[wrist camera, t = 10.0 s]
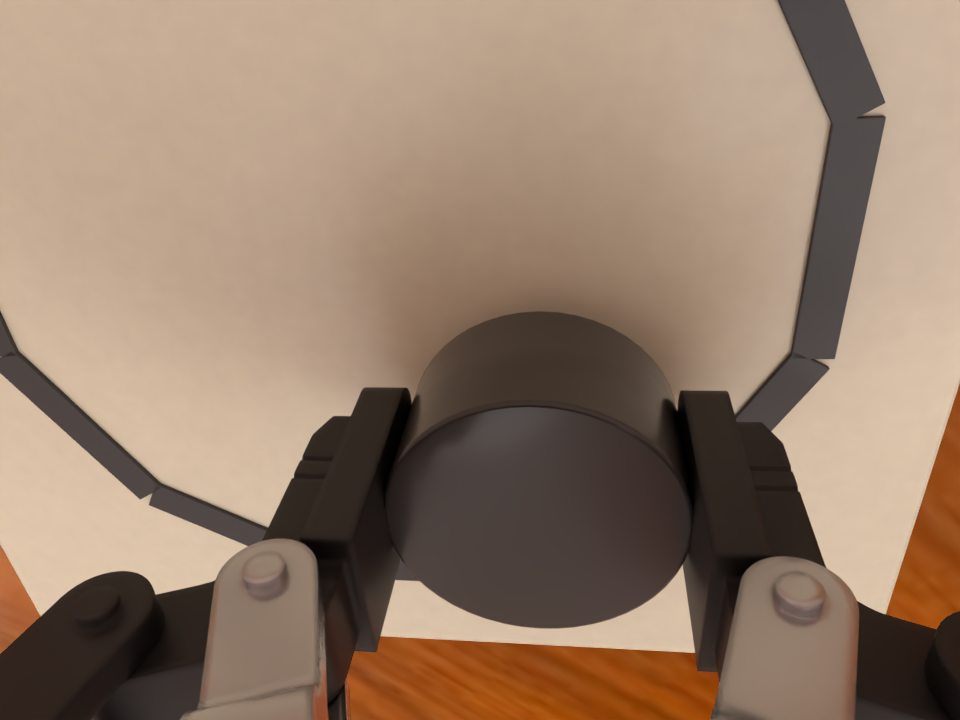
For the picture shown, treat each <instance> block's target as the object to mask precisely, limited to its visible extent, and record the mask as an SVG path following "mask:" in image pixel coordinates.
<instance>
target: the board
mask: <svg viewBox="0 0 960 720" xmlns="http://www.w3.org/2000/svg"><path fill="white" fill-rule="evenodd" d="M534 311H546V312H560V313H566V314H572V315H577V316H581V317H584V318H588V319H591V320H595V321H597V322H599V323H602V324H604V325H606V326H609V327H611V328H613V329H615V330H616V331H618V332H620V333H621V334H623V335H625V336H627V337H628V338H629V339H631V340H632V341H633V342H635V343H636V344H637V345H638V346H640V347H641V348H642V349H643V350H644V351H645V352H646V353H647V354H648V355H649V356H650V357H651V358H652V359H653V360H654V361H655V363H656V364H657V365H658V367H659V368H660V369H661V371H662V372H663V374H664V375H665V377H666V379H667V381H668V383H669V385H670V387H671V390H672V393H673V396H674V399H675V403H676V409H678V399H679V393H680V391H681V390H689V391H727V392H728V393H729V396H730V399H731V403H732V406H733V410H734V414H735V417H736V421H737V422H762V423H763V424H764V425H765V426H766V427H767V428H768V429H769V430H770V431H771V432H772V433H773V434H774V435H775V436H776V437H777V438H778V439H779V440H780V441H781V442H782V443H783V445H784V448H785V451H786V453H787V456H788V459H789V462H790V465H791V472H793V474H794V477H795V479H796V482H797V485H798V492H800V494H801V497H802V500H803V502H804V505H805V508H806V511H807V514H808V517H809V520H810V523H811V526H812V528H813V531H814V534H815V537H816V540H817V543H818V546H819V549H820V552H821V554H822V557H823V560H824V563H825V565H826V568H827V569H829V570H830V571H832V572H833V573H835V574H836V575H837V576H839V577H840V578H841V579H842V580H843V581H844V582H845V583H846V584H847V585H848V587H849V588H850V589H851V590H852V592H853V594H854V596H855V597H856V600H857V601H858V602H860V603H862V604H864V605H865V606H867V607H869V608H871V609H873V610H875V611H878V612H880V613H883V614H886V611H887V608H888V605H889V602H890V599H891V596H892V592H893V589H894V586H895V583H896V580H897V577H898V574H899V571H900V567H901V564H902V561H903V558H904V555H905V552H906V549H907V546H908V543H909V539H910V536H911V533H912V530H913V527H914V524H915V521H916V518H917V515H918V511H919V508H920V505H921V502H922V499H923V496H924V493H925V490H926V487H927V483H928V480H929V477H930V474H931V471H932V468H933V465H934V462H935V459H936V455H937V452H938V449H939V446H940V443H941V440H942V437H943V434H944V430H945V427H946V424H947V421H948V418H949V415H950V412H951V409H952V406H953V402H954V399H955V396H956V393H957V390H958V387H959V384H960V0H0V545H1V547H2V549H3V550H4V552H5V554H6V556H7V558H8V559H9V561H10V563H11V565H12V566H13V568H14V570H15V572H16V574H17V575H18V577H19V579H20V581H21V582H22V584H23V586H24V588H25V589H26V591H27V593H28V595H29V597H30V598H31V600H32V602H33V604H34V605H35V607H36V609H37V611H38V613H39V614H40V616H42V615H43V614H44V613H45V612H46V611H47V610H48V609H49V608H50V607H51V606H52V605H53V604H55V603H56V602H57V601H58V600H59V599H60V598H61V597H62V596H63V595H64V594H66V593H67V592H68V591H69V590H71V589H72V588H74V587H75V586H77V585H78V584H80V583H82V582H84V581H86V580H88V579H90V578H93V577H95V576H98V575H101V574H104V573H109V572H115V571H130V572H135V573H138V574H140V575H142V576H144V577H145V578H147V579H148V580H149V582H150V583H151V585H152V587H153V589H154V591H155V594H156V595H157V594H161V593H166V592H170V591H175V590H179V589H184V588H188V587H193V586H197V585H201V584H205V583H209V582H212V581H214V580H216V577H217V575H218V573H219V571H220V570H221V568H222V567H223V565H224V564H225V563H226V562H227V561H228V560H229V559H230V558H231V557H232V556H234V555H235V554H236V553H238V552H239V551H241V550H242V549H244V548H246V547H248V546H250V545H252V544H255V543H258V542H261V541H262V540H263V538H264V535H265V533H266V531H267V529H268V527H269V525H270V523H271V521H272V519H273V517H274V514H275V512H276V510H277V508H278V506H279V504H280V502H281V500H282V498H283V496H284V493H285V491H286V489H287V487H288V485H289V483H290V481H291V479H292V478H294V472H295V470H296V468H297V466H298V464H299V462H300V460H302V456H303V454H304V451H305V449H306V447H307V445H308V443H309V441H310V439H311V437H312V435H313V434H314V433H315V432H316V431H317V430H318V429H319V428H320V427H322V426H323V425H324V424H325V423H326V422H327V421H328V420H329V419H330V418H332V417H333V416H351V414H352V412H353V410H354V407H355V405H356V403H357V400H358V398H359V395H360V393H361V391H362V389H363V388H365V387H396V388H408V390H409V392H410V395H411V401H412V402H413V399H414V396H415V393H416V390H417V387H418V384H419V382H420V379H421V377H422V375H423V373H424V371H425V369H426V368H427V366H428V365H429V363H430V362H431V360H432V359H433V358H434V356H435V355H436V354H437V353H438V352H439V351H440V350H441V349H442V348H443V347H444V346H445V345H446V344H447V343H449V342H450V341H451V340H452V339H453V338H455V337H456V336H458V335H459V334H461V333H463V332H464V331H466V330H467V329H469V328H471V327H473V326H476V325H478V324H480V323H482V322H484V321H487V320H490V319H493V318H497V317H500V316H503V315H509V314H514V313H520V312H534ZM381 636H387V637H406V638H425V639H444V640H462V641H481V642H500V643H519V644H538V645H557V646H576V647H595V648H614V649H632V650H651V651H670V652H689V653H695V648H694V641H693V634H692V627H691V620H690V613H689V606H688V599H687V592H686V585H685V578H684V571H683V565H682V566H681V568H680V570H679V571H678V573H677V574H676V576H675V577H674V578H673V579H672V580H671V581H670V583H669V584H668V585H667V586H666V587H665V588H664V589H663V590H662V591H660V592H659V593H658V594H657V595H656V596H655V597H653V598H652V599H650V600H649V601H647V602H646V603H644V604H643V605H641V606H640V607H638V608H636V609H634V610H632V611H630V612H628V613H626V614H623V615H621V616H618V617H616V618H613V619H610V620H607V621H603V622H599V623H596V624H591V625H586V626H580V627H572V628H559V629H539V628H529V627H519V626H514V625H508V624H503V623H499V622H496V621H492V620H488V619H485V618H482V617H479V616H477V615H474V614H471V613H469V612H467V611H465V610H462V609H460V608H458V607H456V606H454V605H452V604H451V603H449V602H447V601H446V600H444V599H442V598H441V597H439V596H438V595H436V594H435V593H434V592H432V591H431V590H430V589H428V588H427V587H426V586H424V585H423V584H422V583H421V582H420V581H419V580H418V579H417V578H416V577H415V576H414V575H413V574H412V573H411V572H410V570H409V569H408V568H407V567H406V566H405V564H404V563H403V562H402V560H400V564H399V567H398V571H397V575H396V579H395V583H394V586H393V590H392V594H391V598H390V602H389V605H388V609H387V613H386V617H385V621H384V624H383V628H382V632H381Z"/></svg>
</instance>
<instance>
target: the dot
mask: <svg viewBox="0 0 960 720" xmlns="http://www.w3.org/2000/svg"><path fill="white" fill-rule="evenodd" d="M384 501H385V509H386V515H387V521H388V527H389V532H390V537H391V541H392V544H393V546H394V548H395V551H396V552H397V554H398V555H399V557H400V558H401V560H402V562H403V563H404V564H405V566H406V567H407V568H408V569H409V570H410V572H411V573H412V574H413V575H414V576H415V577H416V578H417V579H418V580H419V581H420V582H421V583H422V584H423V585H424V586H426V587H427V588H428V589H430V590H431V591H432V592H434V593H435V594H436V595H438V596H439V597H441V598H442V599H444V600H446V601H447V602H449V603H451V604H452V605H454V606H456V607H458V608H460V609H462V610H465V611H467V612H469V613H471V614H474V615H477V616H479V617H482V618H485V619H488V620H492V621H496V622H499V623H503V624H508V625H514V626H519V627H529V628H539V629H559V628H572V627H580V626H586V625H591V624H596V623H599V622H603V621H607V620H610V619H613V618H616V617H618V616H621V615H623V614H626V613H628V612H630V611H632V610H634V609H636V608H638V607H640V606H641V605H643V604H644V603H646V602H647V601H649V600H650V599H652V598H653V597H655V596H656V595H657V594H658V593H659V592H660V591H662V590H663V589H664V588H665V587H666V586H667V585H668V584H669V583H670V581H671V580H672V579H673V578H674V577H675V576H676V574H677V573H678V571H679V570H680V568H681V566H682V565H683V563H684V561H685V559H686V557H687V554H688V552H689V548H690V540H691V531H692V521H693V504H692V498H691V492H690V486H689V480H688V474H687V468H686V462H685V456H684V450H683V444H682V438H681V432H680V426H679V420H678V415H677V409H676V403H675V399H674V396H673V393H672V390H671V387H670V385H669V383H668V381H667V379H666V377H665V375H664V374H663V372H662V371H661V369H660V368H659V367H658V365H657V364H656V363H655V361H654V360H653V359H652V358H651V357H650V356H649V355H648V354H647V353H646V352H645V351H644V350H643V349H642V348H641V347H640V346H638V345H637V344H636V343H635V342H633V341H632V340H631V339H629V338H628V337H627V336H625V335H623V334H621V333H620V332H618V331H616V330H615V329H613V328H611V327H609V326H606V325H604V324H602V323H599V322H597V321H595V320H591V319H588V318H584V317H581V316H577V315H572V314H566V313H560V312H546V311H534V312H520V313H514V314H509V315H503V316H500V317H497V318H493V319H490V320H487V321H484V322H482V323H480V324H478V325H476V326H473V327H471V328H469V329H467V330H466V331H464V332H463V333H461V334H459V335H458V336H456V337H455V338H453V339H452V340H451V341H450V342H449V343H447V344H446V345H445V346H444V347H443V348H442V349H441V350H440V351H439V352H438V353H437V354H436V355H435V356H434V358H433V359H432V360H431V362H430V363H429V365H428V366H427V368H426V369H425V371H424V373H423V375H422V377H421V379H420V382H419V384H418V387H417V390H416V393H415V396H414V399H413V402H412V405H411V408H410V411H409V414H408V418H407V421H406V424H405V427H404V430H403V433H402V436H401V439H400V442H399V445H398V448H397V452H396V455H395V458H394V461H393V464H392V467H391V470H390V473H389V476H388V480H387V484H386V488H385V492H384Z"/></svg>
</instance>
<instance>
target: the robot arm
mask: <svg viewBox="0 0 960 720" xmlns="http://www.w3.org/2000/svg"><path fill="white" fill-rule="evenodd" d="M411 405H412V401H411V395H410V392H409V390H408V388H396V387H365V388H363V389H362V391H361V393H360V395H359V398H358V400H357V403H356V405H355V407H354V410H353V412H352V414H351V416H333V417H332V418H330V419H329V420H328V421H327V422H326V423H325V424H324V425H323V426H322V427H320V428H319V429H318V430H317V431H316V432H315V433H314V434H313V435H312V437H311V439H310V441H309V443H308V445H307V447H306V449H305V451H304V454H303V456H302V460H300V462H299V464H298V466H297V468H296V470H295V472H294V478H292V479H291V481H290V483H289V485H288V487H287V489H286V491H285V493H284V496H283V498H282V500H281V502H280V504H279V506H278V508H277V510H276V512H275V514H274V517H273V519H272V521H271V523H270V525H269V527H268V529H267V531H266V533H265V535H264V538H263V540H262V541H261V542H258V543H255V544H252V545H250V546H248V547H246V548H244V549H242V550H241V551H239V552H238V553H236V554H235V555H234V556H232V557H231V558H230V559H229V560H228V561H227V562H226V563H225V564H224V565H223V567H222V568H221V570H220V571H219V573H218V575H217V577H216V580H214V581H212V582H209V583H205V584H201V585H197V586H193V587H188V588H184V589H179V590H175V591H170V592H166V593H161V594H157V595H156V594H155V591H154V589H153V587H152V585H151V583H150V582H149V580H148V579H147V578H145V577H144V576H142V575H140V574H138V573H135V572H130V571H115V572H109V573H104V574H101V575H98V576H95V577H93V578H90V579H88V580H86V581H84V582H82V583H80V584H78V585H77V586H75V587H74V588H72V589H71V590H69V591H68V592H67V593H66V594H64V595H63V596H62V597H61V598H60V599H59V600H58V601H57V602H56V603H55V604H53V605H52V606H51V607H50V608H49V609H48V610H47V611H46V612H45V613H44V614H43V615H42V616H41V617H40V618H39V619H37V620H36V621H35V622H34V623H33V624H32V625H31V626H30V627H29V628H28V629H27V630H26V631H25V632H24V633H23V634H21V635H20V636H19V637H18V638H17V639H16V640H15V641H14V642H13V643H12V644H11V645H10V646H9V647H8V648H7V649H5V650H4V651H3V652H2V653H1V654H0V720H351V710H350V693H349V685H348V680H347V674H348V670H349V667H350V664H351V660H352V657H353V653H354V651H365V652H376V651H377V647H378V643H379V640H380V636H381V632H382V628H383V624H384V621H385V617H386V613H387V609H388V605H389V602H390V598H391V594H392V590H393V586H394V583H395V579H396V575H397V571H398V567H399V564H400V560H401V558H400V557H399V555H398V554H397V552H396V551H395V548H394V546H393V544H392V541H391V537H390V532H389V527H388V521H387V515H386V509H385V501H384V492H385V488H386V484H387V480H388V476H389V473H390V470H391V467H392V464H393V461H394V458H395V455H396V452H397V448H398V445H399V442H400V439H401V436H402V433H403V430H404V427H405V424H406V421H407V418H408V414H409V411H410V408H411ZM677 415H678V420H679V426H680V432H681V438H682V444H683V450H684V456H685V462H686V468H687V474H688V480H689V486H690V492H691V498H692V504H693V521H692V531H691V540H690V548H689V552H688V554H687V557H686V559H685V561H684V563H683V571H684V578H685V585H686V592H687V599H688V606H689V613H690V620H691V627H692V634H693V641H694V648H695V655H696V663H697V670H698V671H709V672H718V676H719V682H720V684H719V688H718V693H717V698H716V703H715V707H714V708H713V711H712V716H711V720H960V612H956V613H953V614H951V615H950V616H948V617H946V618H945V619H944V620H943V621H942V622H941V623H940V625H939V627H938V628H937V630H936V629H933V628H929V627H926V626H922V625H919V624H915V623H912V622H909V621H905V620H902V619H898V618H895V617H891V616H889V615H886V614H883V613H880V612H878V611H875V610H873V609H871V608H869V607H867V606H865V605H864V604H862V603H860V602H858V601H857V600H856V597H855V596H854V594H853V592H852V590H851V589H850V588H849V587H848V585H847V584H846V583H845V582H844V581H843V580H842V579H841V578H840V577H839V576H837V575H836V574H835V573H833V572H832V571H830V570H829V569H827V568H826V565H825V563H824V560H823V557H822V554H821V552H820V549H819V546H818V543H817V540H816V537H815V534H814V531H813V528H812V526H811V523H810V520H809V517H808V514H807V511H806V508H805V505H804V502H803V500H802V497H801V494H800V492H798V485H797V482H796V479H795V477H794V474H793V472H791V465H790V462H789V459H788V456H787V453H786V451H785V448H784V445H783V443H782V442H781V441H780V440H779V439H778V438H777V437H776V436H775V435H774V434H773V433H772V432H771V431H770V430H769V429H768V428H767V427H766V426H765V425H764V424H763V423H762V422H737V421H736V417H735V414H734V410H733V406H732V403H731V399H730V396H729V393H728V392H727V391H689V390H681V391H680V393H679V399H678V409H677Z"/></svg>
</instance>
